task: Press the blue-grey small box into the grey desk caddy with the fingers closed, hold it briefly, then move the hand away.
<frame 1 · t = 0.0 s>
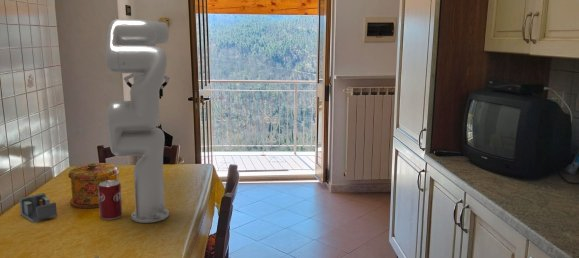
hand: (147, 98, 182), 37 cm above the table, tool pointing down, fingers open, 9 cm apart
soda can: (111, 217, 158), on the table
grey desk caddy: (40, 216, 157), on the table
blue-grey small box: (43, 208, 154), point 4 cm above the table, slide at 0.0 cm
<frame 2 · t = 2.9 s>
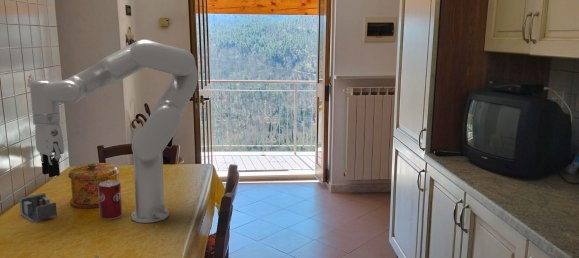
hand: (51, 174, 147), 17 cm above the table, tool pointing down, fingers open, 3 cm apart
nothing on the table moved.
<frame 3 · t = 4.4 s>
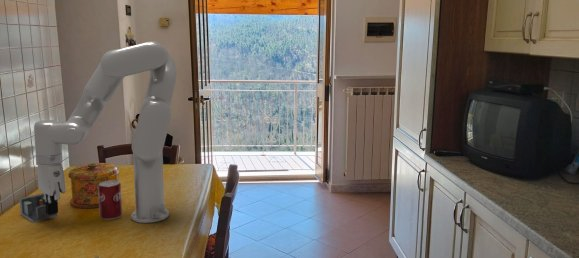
hand: (52, 213, 149), 4 cm above the table, tool pointing down, fingers closed
nothing on the table moved.
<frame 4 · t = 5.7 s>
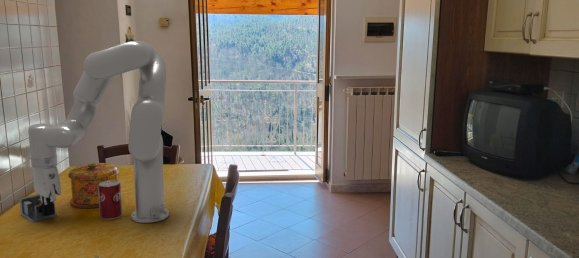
hand: (48, 214, 152), 2 cm above the table, tool pointing down, fingers closed
blue-grey small box: (42, 207, 155), point 4 cm above the table, slide at 1.2 cm, touching gripper
everything else where it was.
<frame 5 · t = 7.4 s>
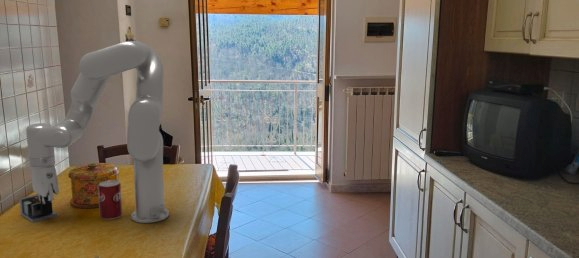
hand: (46, 213, 153), 2 cm above the table, tool pointing down, fingers closed
blue-grey small box: (39, 205, 156), point 4 cm above the table, slide at 3.6 cm
everything else where it was.
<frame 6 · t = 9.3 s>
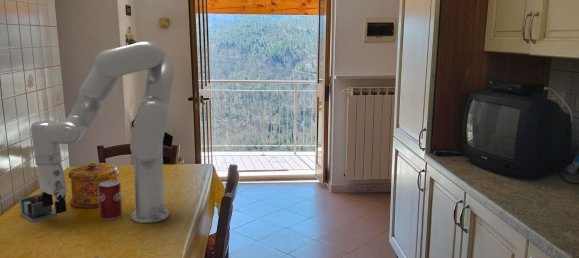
hand: (54, 209, 150), 5 cm above the table, tool pointing down, fingers open, 9 cm apart
nothing on the table moved.
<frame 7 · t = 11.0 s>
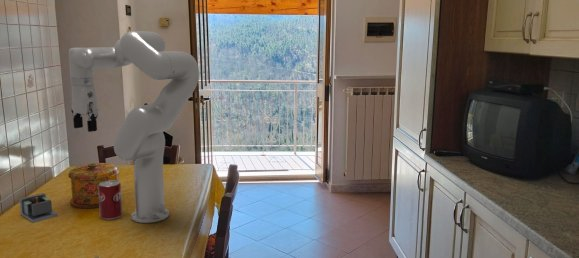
hand: (85, 129, 166), 28 cm above the table, tool pointing down, fingers open, 9 cm apart
nothing on the table moved.
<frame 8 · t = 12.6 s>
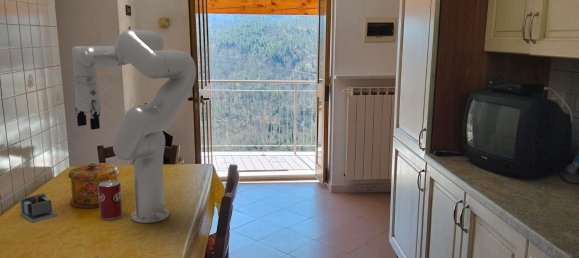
hand: (88, 127, 168), 28 cm above the table, tool pointing down, fingers open, 9 cm apart
nothing on the table moved.
at the end: blue-grey small box slide at 3.6 cm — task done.
